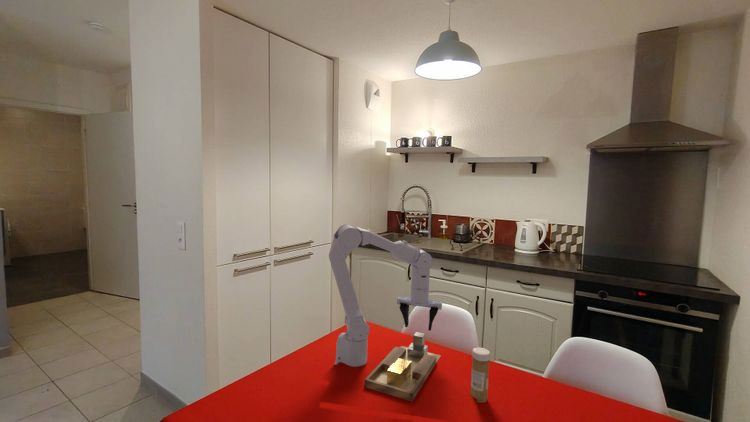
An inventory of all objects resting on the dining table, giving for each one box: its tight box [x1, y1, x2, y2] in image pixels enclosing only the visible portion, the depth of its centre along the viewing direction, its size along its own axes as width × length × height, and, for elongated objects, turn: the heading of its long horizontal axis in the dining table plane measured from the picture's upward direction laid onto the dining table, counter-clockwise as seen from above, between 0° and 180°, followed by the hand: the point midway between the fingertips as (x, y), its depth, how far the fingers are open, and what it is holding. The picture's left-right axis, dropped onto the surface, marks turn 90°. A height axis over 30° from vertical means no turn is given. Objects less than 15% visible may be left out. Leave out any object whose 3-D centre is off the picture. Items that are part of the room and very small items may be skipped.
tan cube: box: [394, 358, 411, 381], centre depth 105 cm, size 4×4×4 cm
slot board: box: [364, 345, 442, 402], centre depth 108 cm, size 14×28×3 cm, turn 155°
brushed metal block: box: [407, 331, 429, 359], centre depth 118 cm, size 6×5×6 cm
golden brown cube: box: [387, 364, 406, 388], centre depth 101 cm, size 4×4×4 cm
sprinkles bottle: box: [470, 347, 491, 404], centre depth 96 cm, size 5×5×14 cm
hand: (418, 327), depth 117 cm, fingers open, 7 cm apart
